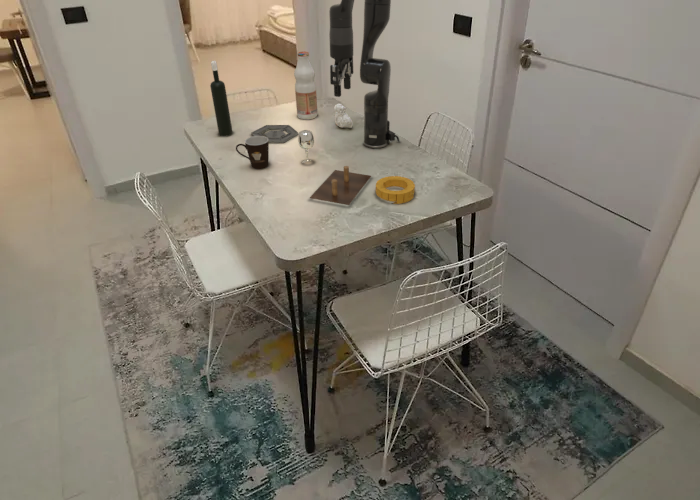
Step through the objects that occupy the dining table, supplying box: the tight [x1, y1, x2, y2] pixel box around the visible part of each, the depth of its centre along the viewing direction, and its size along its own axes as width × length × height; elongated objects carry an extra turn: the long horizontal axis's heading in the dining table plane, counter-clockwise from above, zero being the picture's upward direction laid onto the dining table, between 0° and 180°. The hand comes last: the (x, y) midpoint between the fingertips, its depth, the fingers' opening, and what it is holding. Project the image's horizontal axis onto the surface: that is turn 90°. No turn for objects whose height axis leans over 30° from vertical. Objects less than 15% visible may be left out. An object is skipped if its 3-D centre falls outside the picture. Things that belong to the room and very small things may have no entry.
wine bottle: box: [209, 60, 234, 137], centre depth 202 cm, size 6×6×30 cm
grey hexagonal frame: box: [250, 124, 299, 144], centre depth 208 cm, size 17×20×1 cm
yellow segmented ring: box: [375, 175, 416, 205], centre depth 164 cm, size 13×13×4 cm
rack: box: [309, 165, 372, 206], centre depth 167 cm, size 22×14×6 cm, turn 159°
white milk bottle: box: [293, 51, 318, 120], centre depth 218 cm, size 9×9×28 cm
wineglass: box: [297, 129, 315, 164], centre depth 182 cm, size 6×6×12 cm
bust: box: [333, 103, 354, 129], centre depth 212 cm, size 12×8×11 cm
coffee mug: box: [235, 135, 270, 170], centre depth 182 cm, size 12×9×10 cm
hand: (342, 92), depth 165 cm, fingers open, 8 cm apart
